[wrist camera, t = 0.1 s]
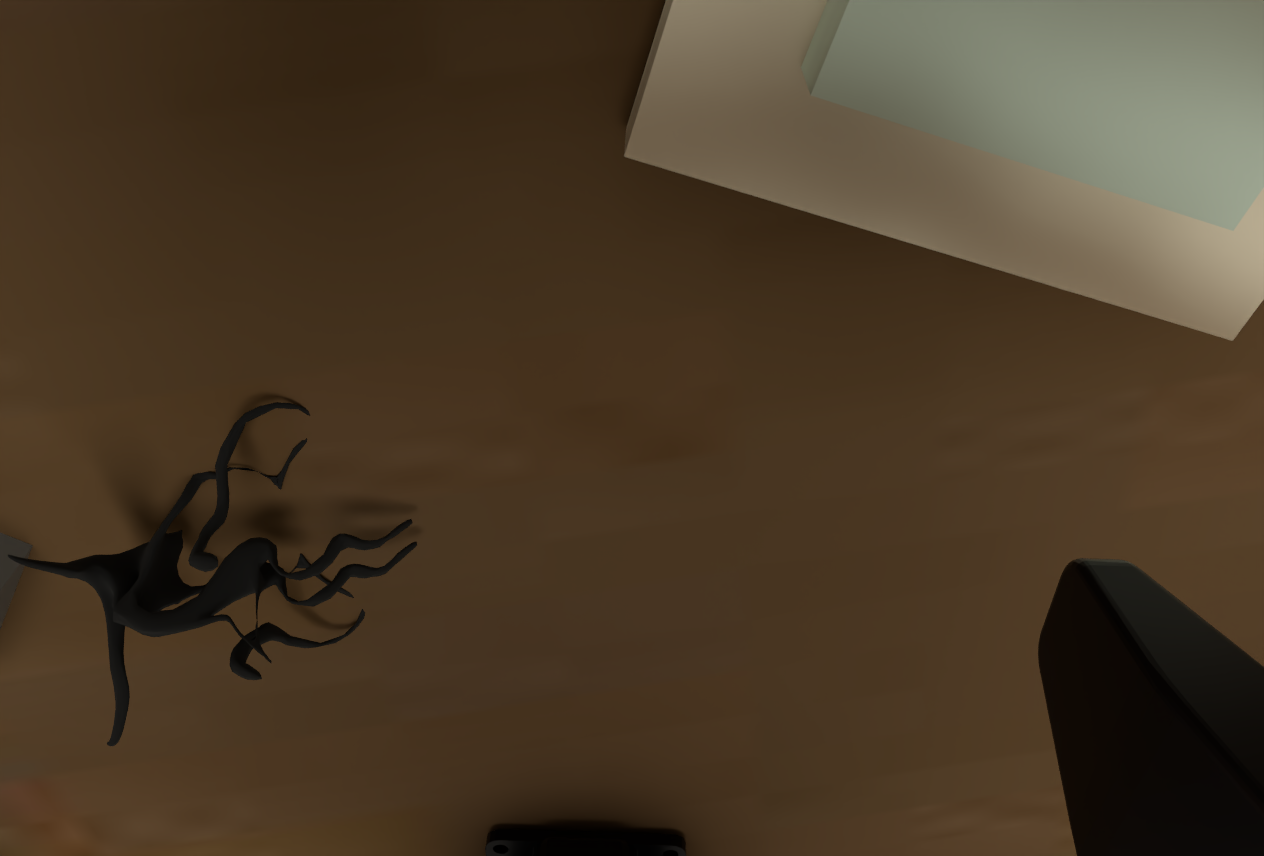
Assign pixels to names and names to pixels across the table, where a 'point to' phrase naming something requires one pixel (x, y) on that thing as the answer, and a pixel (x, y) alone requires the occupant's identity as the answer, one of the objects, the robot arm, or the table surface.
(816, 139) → the plinth
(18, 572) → the dice cube
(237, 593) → the creature
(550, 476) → the table surface
